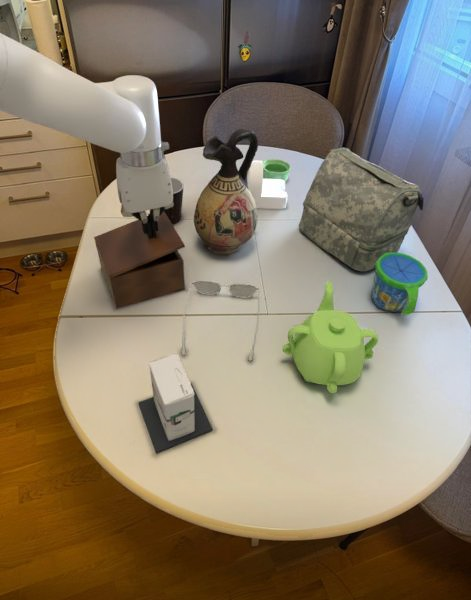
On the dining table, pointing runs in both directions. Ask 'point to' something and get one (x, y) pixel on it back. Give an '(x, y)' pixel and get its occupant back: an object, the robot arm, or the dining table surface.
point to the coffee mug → (175, 201)
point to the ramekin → (276, 169)
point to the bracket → (266, 188)
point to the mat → (158, 431)
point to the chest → (146, 280)
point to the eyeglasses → (214, 287)
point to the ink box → (173, 396)
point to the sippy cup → (398, 282)
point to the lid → (136, 245)
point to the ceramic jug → (227, 196)
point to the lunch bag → (358, 209)
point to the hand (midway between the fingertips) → (150, 234)
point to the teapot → (330, 345)
